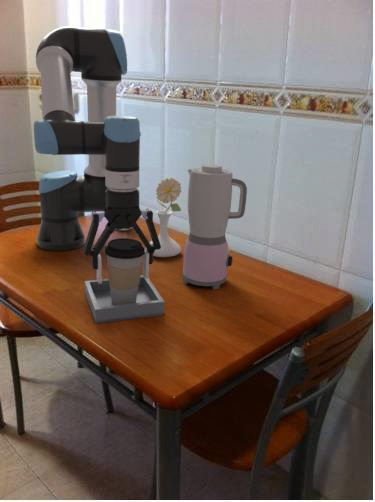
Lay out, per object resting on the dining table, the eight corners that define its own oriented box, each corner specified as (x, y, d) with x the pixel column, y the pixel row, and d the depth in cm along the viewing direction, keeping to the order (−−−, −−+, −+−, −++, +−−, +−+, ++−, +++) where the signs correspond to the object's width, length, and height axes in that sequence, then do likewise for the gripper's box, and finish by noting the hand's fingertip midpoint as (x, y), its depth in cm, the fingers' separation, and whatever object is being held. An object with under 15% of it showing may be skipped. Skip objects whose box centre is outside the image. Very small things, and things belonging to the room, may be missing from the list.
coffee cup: (136, 313, 107) (138, 252, 102) (98, 306, 109) (98, 247, 103) (147, 296, 116) (149, 240, 111) (112, 290, 117) (112, 235, 112)
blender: (177, 286, 123) (181, 167, 112) (187, 270, 134) (192, 160, 123) (235, 294, 120) (246, 173, 109) (241, 277, 131) (251, 165, 120)
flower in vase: (137, 252, 146) (138, 174, 138) (165, 245, 154) (167, 171, 145) (163, 265, 137) (165, 182, 129) (191, 257, 145) (195, 178, 136)
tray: (85, 293, 117) (84, 281, 116) (146, 287, 122) (146, 275, 121) (95, 323, 103) (95, 309, 102) (163, 314, 108) (164, 301, 107)
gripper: (71, 194, 95) (75, 290, 103) (176, 190, 103) (173, 280, 111) (67, 186, 102) (71, 277, 110) (166, 183, 110) (164, 268, 117)
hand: (122, 278), depth 110 cm, fingers open, 11 cm apart
